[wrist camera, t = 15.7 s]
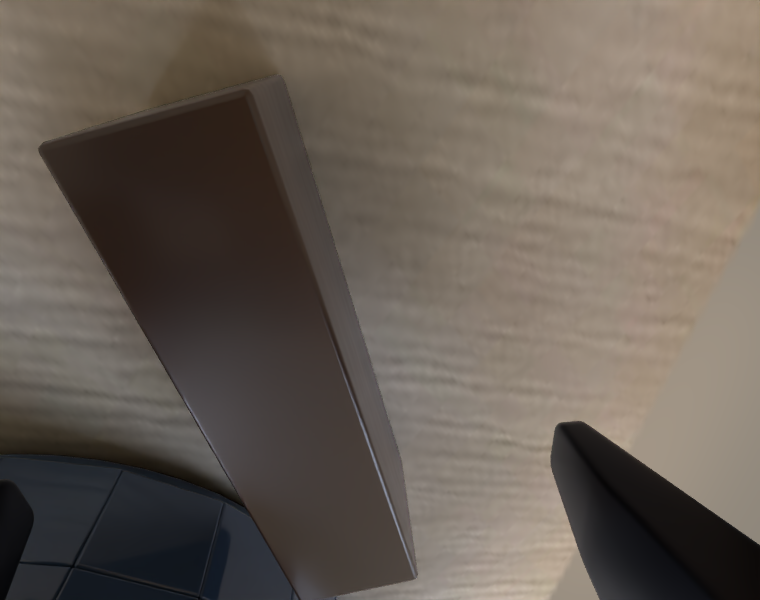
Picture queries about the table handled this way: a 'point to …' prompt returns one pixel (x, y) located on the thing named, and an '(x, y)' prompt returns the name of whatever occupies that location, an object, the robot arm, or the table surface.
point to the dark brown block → (251, 321)
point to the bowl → (134, 536)
